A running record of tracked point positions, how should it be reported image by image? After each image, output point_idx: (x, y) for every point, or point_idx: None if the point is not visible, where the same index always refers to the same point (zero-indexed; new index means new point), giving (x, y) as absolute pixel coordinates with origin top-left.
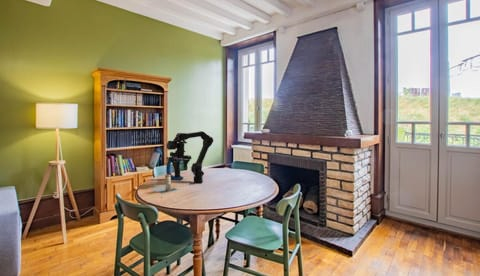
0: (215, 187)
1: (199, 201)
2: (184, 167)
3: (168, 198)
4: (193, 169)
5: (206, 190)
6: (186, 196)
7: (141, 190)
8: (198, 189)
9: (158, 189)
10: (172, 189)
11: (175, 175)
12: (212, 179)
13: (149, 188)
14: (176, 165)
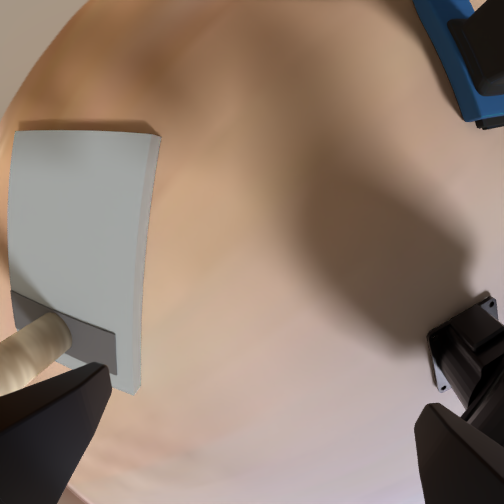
0: (359, 495)
1: (120, 497)
2: (424, 440)
3: (35, 381)
4: (493, 440)
5: (273, 492)
6: (113, 448)
7: (17, 96)
8: (265, 459)
9: (32, 232)
10: (88, 346)
11: (467, 32)
12: None
13: (19, 142)
14: (46, 499)
